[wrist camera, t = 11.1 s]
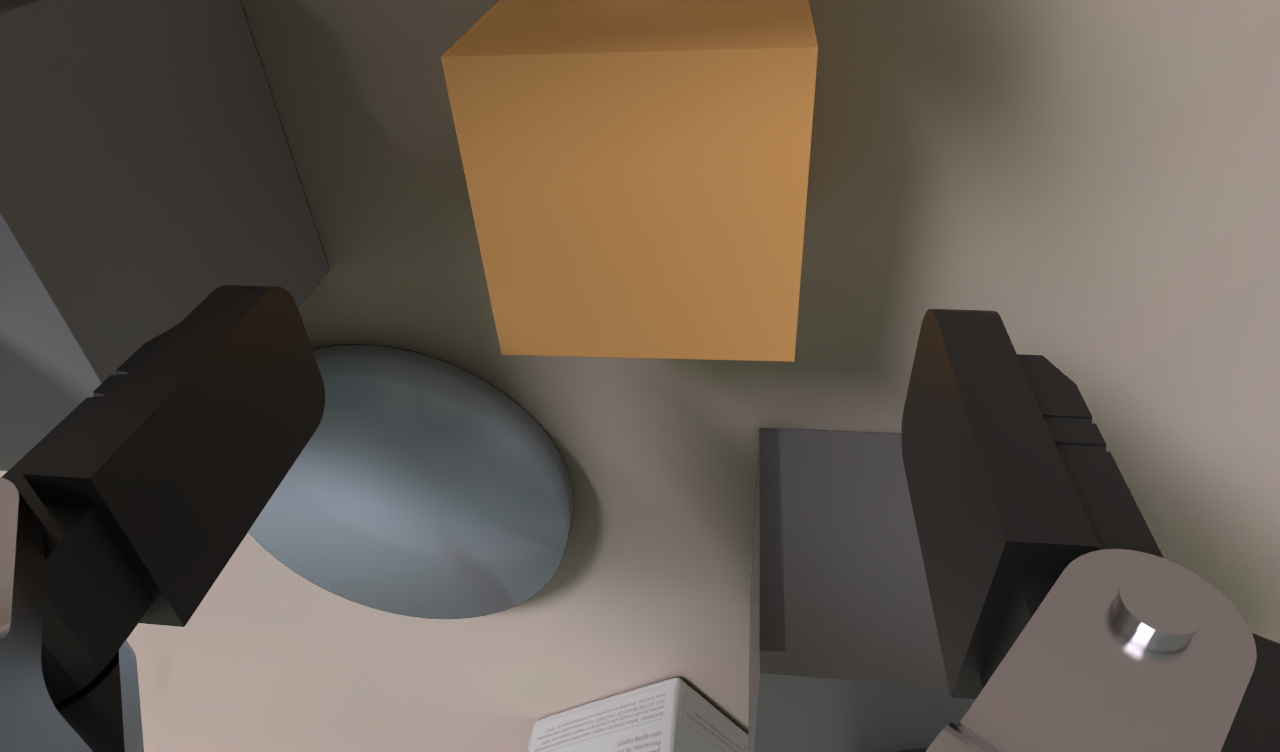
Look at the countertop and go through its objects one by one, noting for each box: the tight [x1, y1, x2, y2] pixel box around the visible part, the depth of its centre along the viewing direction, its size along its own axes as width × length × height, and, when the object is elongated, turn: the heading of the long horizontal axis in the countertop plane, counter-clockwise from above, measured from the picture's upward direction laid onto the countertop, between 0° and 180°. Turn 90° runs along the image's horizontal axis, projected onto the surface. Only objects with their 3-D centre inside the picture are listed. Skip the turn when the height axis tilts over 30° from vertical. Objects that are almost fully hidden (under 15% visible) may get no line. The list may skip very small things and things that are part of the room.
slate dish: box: [248, 345, 574, 619], centre depth 23 cm, size 10×10×1 cm
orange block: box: [441, 0, 818, 362], centre depth 14 cm, size 5×5×5 cm
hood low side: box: [748, 428, 976, 752], centre depth 18 cm, size 8×8×12 cm
